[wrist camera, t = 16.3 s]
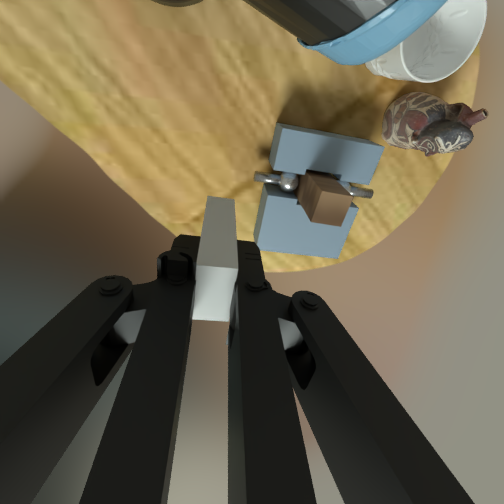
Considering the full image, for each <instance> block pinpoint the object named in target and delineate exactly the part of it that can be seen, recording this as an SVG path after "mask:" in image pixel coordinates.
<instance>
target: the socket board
mask: <svg viewBox="0 0 504 504" xmlns="http://www.w3.org/2000/svg"><path fill="white" fill-rule="evenodd" d="M384 148H385V147H383V146H381V145H379V144H376V143H374V142H372V141H370V140H366V139H361V138H356V137H351V136H345V135H340V134H335V133H329V132H324V131H319V130H314V129H308V128H303V127H298V126H292V125H287V124H282V123H277V122H276V127H275V132H274V137H273V141H272V146H271V151H270V156H269V162H270V164H271V166H272V168H273V170H277V171H284V172H290V173H296V174H302V175H305V172H306V169H309V170H315V171H321V172H328V173H332V174H333V175H335V176H336V177H337V178H338V179H339V180H340V181H346V182H352V183H359V184H365V185H369V183H370V181H371V179H372V176H373V174H374V171H375V169H376V167H377V164H378V162H379V160H380V157H381V155H382V152H383V150H384ZM358 209H359V208H358V207H357V206H356V205H355V204H354V203H353V202H351V205H350V207H349V209H348V212H347V214H346V216H345V219H344V221H343V223H342V226H341V227H339V226H332V225H326V224H320V223H313V222H311V221H310V220H309V218H308V216H307V215H306V213H305V211H304V209H303V208H302V206H301V204H300V203H299V201H298V199H297V197H296V196H295V194H294V192H293V191H291V192H285V191H283V190H282V189H281V188H280V187H279V186H277V185H270V184H264V185H263V190H262V195H261V200H260V205H259V210H258V215H257V219H256V224H255V229H254V234H253V235H254V241H255V243H256V245H257V246H258V247H259V249H260V250H263V251H272V252H281V253H290V254H299V255H309V256H318V257H327V258H336V259H338V257H339V254H340V252H341V250H342V247H343V245H344V243H345V240H346V238H347V235H348V233H349V231H350V228H351V226H352V224H353V221H354V219H355V216H356V214H357V212H358Z"/></svg>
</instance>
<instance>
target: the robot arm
mask: <svg viewBox="0 0 504 504" xmlns="http://www.w3.org/2000/svg"><path fill="white" fill-rule="evenodd" d="M152 1H154V2H157V3H159V4H162V5H166V6H172V7H184V6H190V5H193V4H196V3H199V2H201V1H203V0H152ZM243 1H245V2H246V3H248V4H249V5H251V6H252V7H253V8H255V9H256V10H258V11H259V12H261V13H262V14H264V15H265V16H267V17H268V18H269V19H271V20H272V21H274V22H275V23H277V24H278V25H280V26H281V27H283V28H284V29H286V30H287V31H288V32H290V33H291V34H293V35H294V36H296V37H297V40H298V42H299V43H300V44H301V45H302V46H303V47H305V48H307V49H312V50H316V51H318V52H320V53H321V54H323V55H324V56H326V57H328V58H329V59H331V60H333V61H334V62H336V63H338V64H342V65H360V64H363V63H366V62H369V61H371V60H374V59H376V58H378V57H380V56H381V55H383V54H385V53H387V52H388V51H390V50H391V49H393V48H394V47H396V46H397V45H398V44H400V43H401V42H402V41H404V40H405V39H406V38H408V37H409V36H410V35H411V34H413V33H414V32H415V31H416V30H417V29H419V28H420V27H421V26H422V25H423V24H424V23H425V22H426V21H427V20H428V19H430V18H431V17H432V16H433V15H434V14H435V13H436V12H437V11H438V10H439V9H440V8H441V7H442V6H443V5H444V4H445V3H446V2H447V1H448V0H243ZM260 255H261V254H260V249H259V247H258V246H257V245H256V243H255V242H251V241H242V240H237V236H236V219H235V202H234V199H227V198H220V197H213V196H208V197H207V203H206V209H205V215H204V221H203V227H202V233H201V237H200V236H191V235H182V234H180V235H179V236H178V237H176V238H175V239H174V241H173V244H172V247H171V250H170V251H166V252H164V253H162V254H160V255H159V257H158V258H157V279H156V280H154V281H152V282H149V283H144V284H137V285H132V282H131V281H130V280H129V279H128V278H125V277H123V276H116V275H113V276H105V277H102V278H100V279H97V280H96V281H94V282H93V283H91V284H90V285H89V286H88V287H87V288H86V289H85V290H84V291H82V292H81V293H80V294H79V295H78V296H77V297H76V298H75V299H73V300H72V301H71V302H70V303H69V304H68V305H67V306H66V307H65V308H64V309H63V310H61V311H60V312H59V313H58V314H57V315H56V316H55V317H54V318H53V319H51V320H50V321H49V322H48V323H47V324H46V325H45V326H44V327H43V328H41V329H40V330H39V331H38V332H37V333H36V334H35V335H34V336H33V337H32V338H30V339H29V340H28V341H27V342H26V343H25V344H24V345H23V346H22V347H20V348H19V349H18V350H17V351H16V352H15V353H14V354H13V355H12V356H11V357H9V358H8V359H7V360H6V361H5V362H4V363H3V364H2V365H1V366H0V504H30V503H31V502H32V501H33V499H34V498H35V496H36V495H37V493H38V492H39V490H40V489H41V487H42V486H43V484H44V483H45V481H46V479H47V478H48V476H49V475H50V473H51V472H52V470H53V469H54V467H55V466H56V464H57V463H58V461H59V460H60V458H61V457H62V455H63V454H64V452H65V451H66V449H67V448H68V446H69V445H70V443H71V442H72V440H73V438H74V437H75V435H76V434H77V432H78V431H79V429H80V428H81V426H82V425H83V423H84V422H85V420H86V419H87V417H88V416H89V414H90V412H91V411H92V410H93V408H94V407H95V405H96V404H97V402H98V401H99V399H100V398H101V396H102V394H103V393H104V391H105V390H106V388H107V387H108V385H109V384H110V382H111V381H112V379H113V378H114V376H115V374H116V373H117V372H118V370H119V368H120V367H121V366H122V364H123V363H124V361H125V359H126V358H127V356H128V355H129V353H130V352H131V350H132V353H131V355H130V358H129V361H128V364H127V367H126V370H125V373H124V376H123V378H122V381H121V384H120V387H119V390H118V393H117V396H116V399H115V401H114V404H113V407H112V410H111V413H110V416H109V419H108V422H107V424H106V427H105V430H104V433H103V436H102V439H101V442H100V445H99V447H98V451H97V454H96V456H95V459H94V462H93V465H92V468H91V471H90V473H89V476H88V479H87V482H86V485H85V488H84V491H83V494H82V497H81V499H80V502H79V504H167V500H168V492H169V485H170V478H171V471H172V463H173V456H174V450H175V442H176V435H177V428H178V421H179V414H180V406H181V399H182V392H183V385H184V377H185V371H186V364H187V357H188V349H189V342H190V335H191V326H192V319H199V320H214V321H229V317H230V325H229V331H228V335H227V341H226V345H228V504H317V503H316V498H315V493H314V488H313V484H312V479H311V474H310V469H309V464H308V460H307V455H306V450H305V445H304V441H303V436H302V431H301V426H300V421H299V416H298V412H297V407H296V402H295V397H294V392H293V389H294V391H295V393H296V396H297V398H298V400H299V402H300V405H301V407H302V409H303V411H304V413H305V416H306V418H307V420H308V422H309V425H310V427H311V429H312V431H313V434H314V436H315V438H316V440H317V443H318V445H319V447H320V449H321V451H322V454H323V456H324V458H325V460H326V463H327V465H328V467H329V469H330V472H331V474H332V476H333V478H334V481H335V483H336V485H337V487H338V489H339V492H340V494H341V496H342V498H343V501H344V503H345V504H474V503H473V501H472V499H471V498H470V497H469V495H468V494H467V493H466V491H465V490H464V489H463V487H462V486H461V485H460V483H459V482H458V481H457V479H456V478H455V477H454V475H453V474H452V473H451V471H450V470H449V469H448V467H447V466H446V465H445V463H444V462H443V460H442V459H441V458H440V456H439V455H438V454H437V452H436V451H435V450H434V448H433V447H432V446H431V444H430V443H429V441H428V440H427V439H426V437H425V436H424V435H423V433H422V432H421V431H420V429H419V428H418V427H417V425H416V424H415V423H414V421H413V420H412V418H411V417H410V416H409V414H408V413H407V412H406V410H405V409H404V408H403V406H402V405H401V404H400V402H399V401H398V400H397V398H396V397H395V396H394V394H393V393H392V392H391V390H390V389H389V388H388V386H387V385H386V383H385V382H384V381H383V379H382V378H381V377H380V375H379V374H378V373H377V371H376V370H375V369H374V367H373V366H372V364H371V363H370V362H369V361H368V359H367V358H366V356H365V355H364V354H363V352H362V351H361V350H360V348H359V347H358V346H357V344H356V343H355V342H354V340H353V339H352V338H351V336H350V335H349V334H348V332H347V331H346V330H345V328H344V327H343V325H342V324H341V323H340V322H339V320H338V319H337V317H336V316H335V315H334V313H333V312H332V310H331V309H330V308H329V306H328V305H327V304H326V302H325V301H324V300H323V299H322V298H321V297H320V296H318V295H317V294H315V293H312V292H309V291H298V292H295V293H294V294H293V295H292V297H289V296H285V295H282V294H280V293H277V292H276V291H274V290H272V287H271V285H270V283H269V282H268V281H267V280H266V279H265V275H264V270H263V265H262V261H261V260H262V259H261V256H260Z"/></svg>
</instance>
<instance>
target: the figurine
mask: <svg viewBox="0 0 504 504" xmlns="http://www.w3.org/2000/svg"><path fill="white" fill-rule="evenodd" d="M487 116H488V111H487V110H486V109H480V110H478V111H475V112H473V111H472V110H471V108H470V107H468V106H467V105H465V104H464V103H456V104H448V103H447V102H445V101H443V100H442V99H440V98H439V97H437V96H434V95H431V94H428V93H424V92H411V93H408V94H405V95H403V96H401V97H400V98H398V99H397V100H395V101H394V102H393V103H392V104H391V105H390V106H389V107H388V108H387V110H386V111H385V113H384V118H383V122H382V129H383V130H382V138H383V140H385V141H386V142H387V144H389V145H390V146H395V147H399V148H403V149H416V150H421V151H424V152H425V156H430V155H434V154H436V153H450V152H456V151H460V150H463V149H465V148H466V147H467V145H469V143H471V141H472V139H473V137H474V136H473V133H472V131H471V130H470V128H471V126H472V125H473V124H475V123H477V122H479V121H481V120H483V119H485V118H487Z"/></svg>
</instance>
